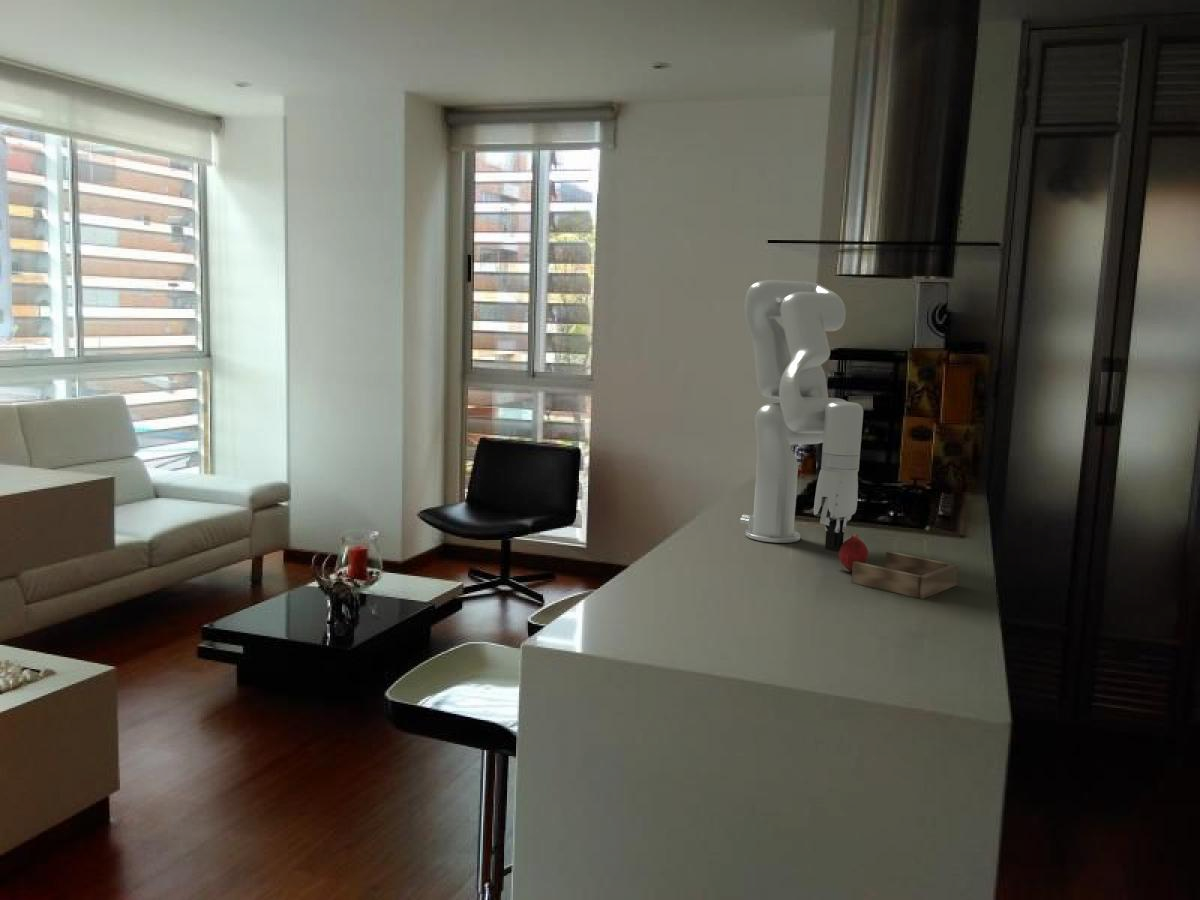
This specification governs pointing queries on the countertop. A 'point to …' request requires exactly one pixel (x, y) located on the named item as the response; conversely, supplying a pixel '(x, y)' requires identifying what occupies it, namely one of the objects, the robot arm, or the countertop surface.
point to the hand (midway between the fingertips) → (833, 550)
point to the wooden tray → (907, 575)
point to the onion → (853, 552)
